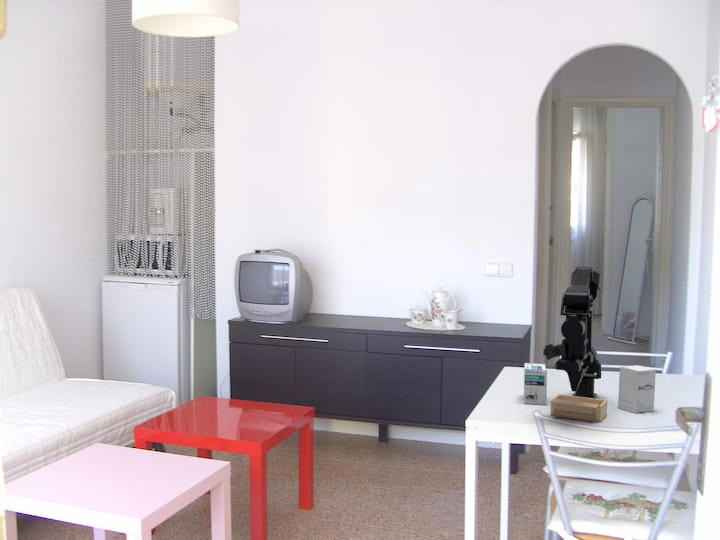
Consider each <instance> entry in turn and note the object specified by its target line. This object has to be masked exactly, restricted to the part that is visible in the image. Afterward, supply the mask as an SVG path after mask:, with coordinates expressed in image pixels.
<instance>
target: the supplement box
mask: <svg viewBox="0 0 720 540" xmlns="http://www.w3.org/2000/svg"><path fill="white" fill-rule="evenodd" d="M656 371H657V369H656V368H652V367H647V366H643V365H637V364H636V365H625V366H623V365H622V366H620V367H619V376H618V378H619V379H618V382H619V383H618V397H617V398H618V400H617V401H618V402H617V408H619V409H621V410H624V411H627V412H630V413H633V414H638V413H647V412H654V411H655V395H656V394H655V393H656Z"/></svg>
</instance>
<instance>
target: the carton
mask: <svg viewBox="0 0 720 540" xmlns="http://www.w3.org/2000/svg"><path fill="white" fill-rule="evenodd" d="M552 399H561V400H569V401H577V402H585V403H593V404H598V407H597V409H595V408H593V414H595V421H594V422H596V423H602V421H604V419H605V418H606V417H607V414H608V400H606V399H601V398H600V399H599V398H595V397H594V398H586V397H578V396H572V395H569V394H568V395H567V394H560V393H559V394H556V395H555V396H554V397H553V398H551V399H550V401H551V400H552ZM554 409H556V403H551V402H550V415H549V416H550V417H551V416H553V417H555V416H554ZM594 422H593V423H594Z"/></svg>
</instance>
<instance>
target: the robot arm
mask: <svg viewBox="0 0 720 540" xmlns="http://www.w3.org/2000/svg"><path fill="white" fill-rule="evenodd" d="M601 285H602V278H601V274H600V273H599V272H597V271H596V270H594V267H591V266H576V267H575V268H574V271H573V272H571V277H570V286H569V287H566V289H565V290H564V291H565V292H564V293H562V296H561V304H560V316H565V320H564V321H563V322H562V324H561V327H560V333H561V336H562V337H564V338H563V339H562V340H561V343H558V344H552V343H551V344H546V345H545V346H544V348H543V349H542V350H543V352H542V355H543V356H545V359H546V360H547V361H549V360H551V359H553V358H554V359H555V358H557V357H558V358H559V357H560V358H559V359H558V360H557V361H555V370H557V371H565V373H566V374H567V377H568V381H569V386H570V389H571V392H574V393H572V395H571V396H578V397H586V398H594V399H595V398H596V396H597V395H598V394H597V393H595V381H596V380H600V379H602V364H601V362H600V360H599V359H598V352H597V351H596V349H595V348H594V346H593V327H594V326H593V322H594V321H593V318H594V315H593V314H594V313H593V312H594V311H593V310H594V302H595V300H596V299H597V298H598V295H599V290H601V289H602V288H601Z"/></svg>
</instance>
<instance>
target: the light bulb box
mask: <svg viewBox="0 0 720 540" xmlns="http://www.w3.org/2000/svg"><path fill="white" fill-rule="evenodd" d="M523 368H524V370H523V373H524V374H523V400H524V401H523V402H524V404H527V405H542V406H546V405H547V390H548V389H547V385H548V380H547V379H548V370H547V364H546V363H533V362H524V367H523Z"/></svg>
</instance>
